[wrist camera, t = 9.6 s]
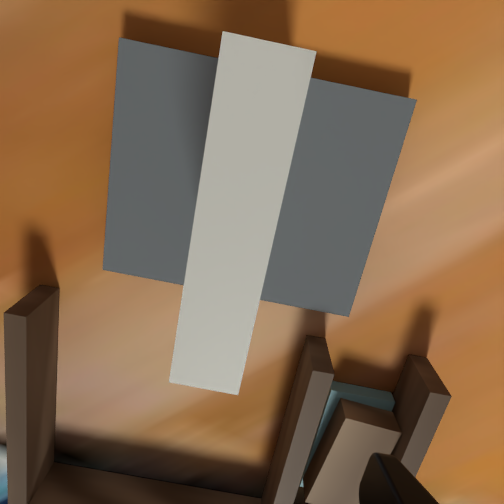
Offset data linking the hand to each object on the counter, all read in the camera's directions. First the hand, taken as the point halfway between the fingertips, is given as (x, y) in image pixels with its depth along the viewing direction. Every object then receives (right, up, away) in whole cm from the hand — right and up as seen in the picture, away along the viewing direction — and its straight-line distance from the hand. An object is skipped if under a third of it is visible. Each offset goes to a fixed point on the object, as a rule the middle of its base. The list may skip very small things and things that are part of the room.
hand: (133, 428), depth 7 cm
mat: (+2, +6, +11) cm, 13 cm away
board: (+2, +6, +10) cm, 12 cm away
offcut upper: (+7, -8, +15) cm, 18 cm away
